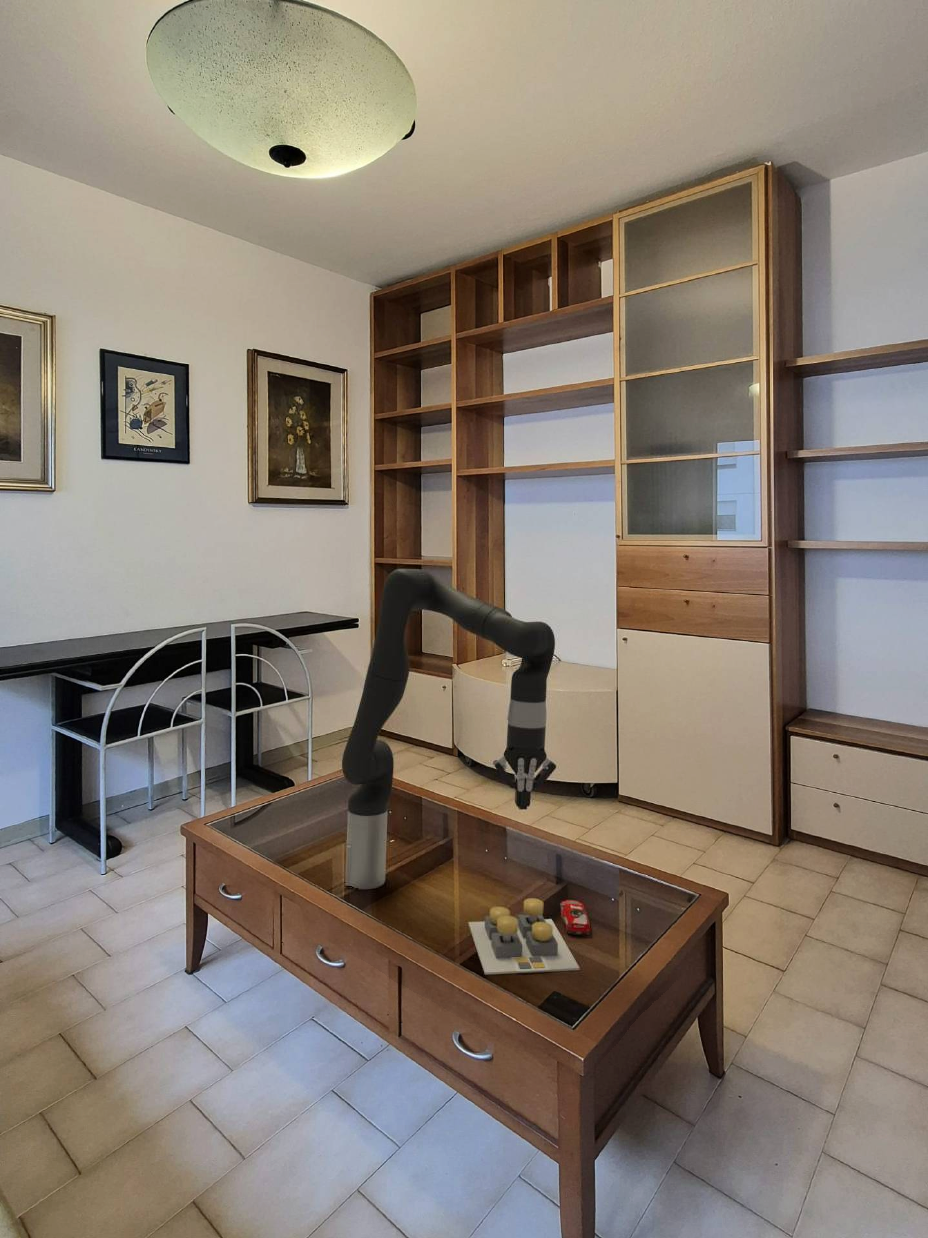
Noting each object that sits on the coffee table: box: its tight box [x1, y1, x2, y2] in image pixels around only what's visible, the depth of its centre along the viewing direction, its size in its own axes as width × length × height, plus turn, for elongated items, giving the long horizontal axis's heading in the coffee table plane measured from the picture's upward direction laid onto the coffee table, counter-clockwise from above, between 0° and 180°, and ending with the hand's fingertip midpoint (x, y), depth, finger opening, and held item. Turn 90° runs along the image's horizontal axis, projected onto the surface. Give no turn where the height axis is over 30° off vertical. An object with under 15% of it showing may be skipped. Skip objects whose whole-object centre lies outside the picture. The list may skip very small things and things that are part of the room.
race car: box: [559, 899, 591, 936], centre depth 150 cm, size 13×5×4 cm, turn 178°
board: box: [467, 914, 581, 975], centre depth 140 cm, size 18×19×3 cm
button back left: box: [489, 906, 511, 925], centre depth 144 cm, size 4×4×4 cm
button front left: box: [497, 915, 518, 943], centre depth 137 cm, size 4×4×4 cm
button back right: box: [523, 897, 544, 924], centre depth 145 cm, size 4×4×4 cm
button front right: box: [532, 922, 553, 941], centre depth 138 cm, size 4×4×4 cm
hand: (522, 808), depth 141 cm, fingers closed
